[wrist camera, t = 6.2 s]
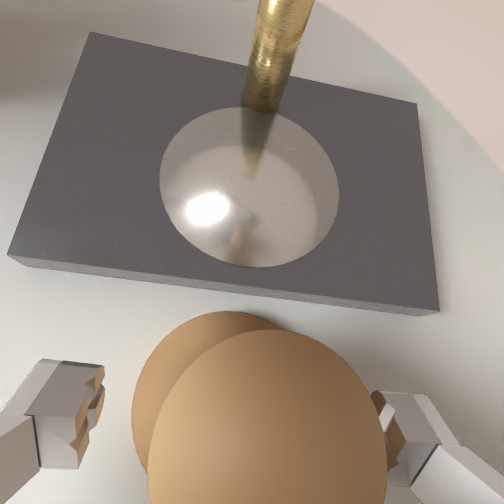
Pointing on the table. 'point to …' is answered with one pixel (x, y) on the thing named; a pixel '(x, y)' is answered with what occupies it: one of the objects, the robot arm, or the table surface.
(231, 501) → the flange hub
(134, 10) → the table surface
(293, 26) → the dowel
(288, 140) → the base plate
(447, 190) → the table surface
